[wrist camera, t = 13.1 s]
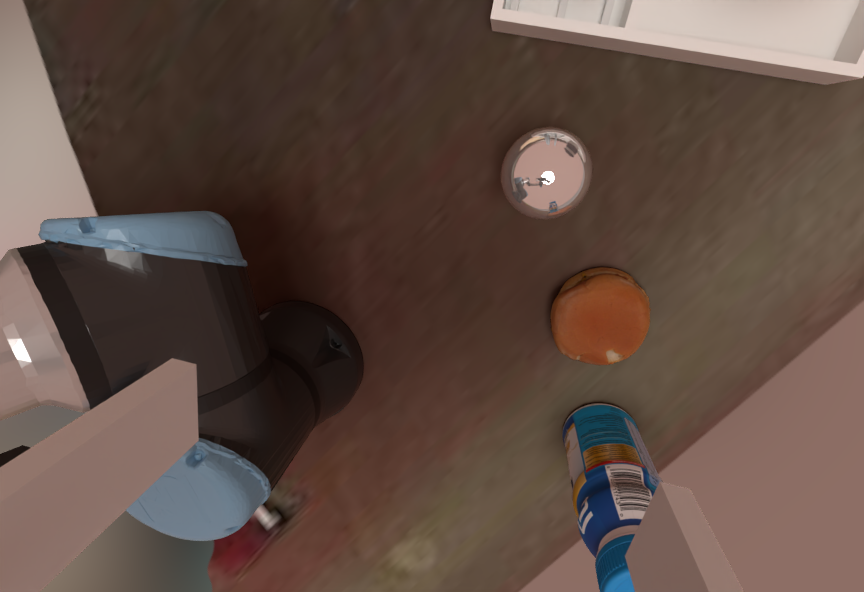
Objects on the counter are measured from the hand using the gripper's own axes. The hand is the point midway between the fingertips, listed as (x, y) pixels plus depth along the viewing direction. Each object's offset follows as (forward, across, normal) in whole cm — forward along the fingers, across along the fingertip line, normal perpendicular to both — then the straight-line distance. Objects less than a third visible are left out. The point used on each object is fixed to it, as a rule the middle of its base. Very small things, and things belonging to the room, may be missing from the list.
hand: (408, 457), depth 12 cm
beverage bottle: (+35, +18, -20) cm, 44 cm away
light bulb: (+35, +4, +7) cm, 36 cm away
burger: (+35, +14, -6) cm, 38 cm away
